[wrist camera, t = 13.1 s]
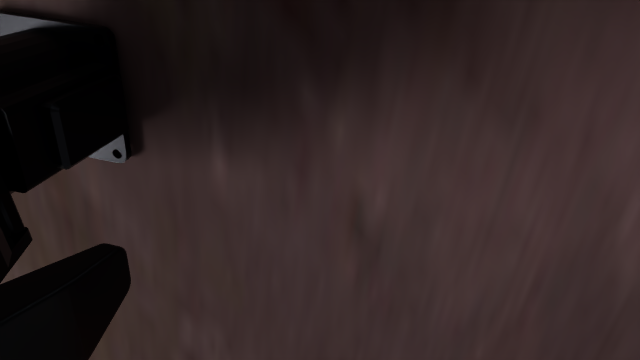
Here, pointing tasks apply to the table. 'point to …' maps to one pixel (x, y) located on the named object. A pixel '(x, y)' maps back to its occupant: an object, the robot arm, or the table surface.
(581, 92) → the table surface
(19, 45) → the robot arm
